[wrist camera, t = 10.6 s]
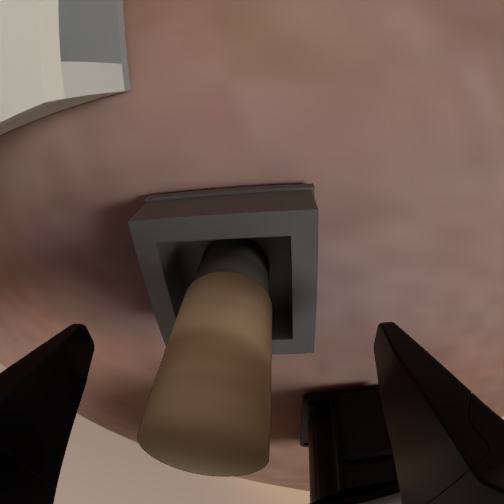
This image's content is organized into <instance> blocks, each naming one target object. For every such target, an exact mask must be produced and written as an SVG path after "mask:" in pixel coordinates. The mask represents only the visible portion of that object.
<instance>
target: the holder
mask: <svg viewBox="0 0 504 504" xmlns="http://www.w3.org/2000/svg"><path fill="white" fill-rule="evenodd" d="M128 225H129V229H130V233H131V236H132V240H133V244H134V248H135V251H136V255H137V258H138V262H139V265H140V269H141V272H142V276H143V279H144V282H145V285H146V289H147V292H148V295H149V298H150V301H151V304H152V307H153V311H154V314H155V317H156V319H157V322H158V325H159V328H160V331H161V334H162V337H163V340H164V342H165V345H166V346H167V344H168V341H169V338H170V335H171V332H172V329H173V327H174V324H175V321H176V318H177V315H178V313H179V310H180V307H181V304H182V302H183V299H184V296H185V294H186V291H187V289H188V288H189V286H190V285H191V284H192V283H193V281H194V278H195V275H196V273H197V270H198V267H199V264H200V262H201V259H202V256H203V254H204V252H205V250H206V248H207V247H208V246H209V245H210V244H211V243H213V242H214V241H216V240H217V239H234V238H248V239H250V240H252V241H254V242H255V243H257V244H258V245H259V246H261V247H262V249H263V250H264V251H265V253H266V254H267V256H268V259H269V263H270V282H269V297H270V300H271V303H272V354H298V353H314V338H315V320H316V297H317V264H318V208H317V205H316V202H315V199H314V185H313V184H288V185H267V186H250V187H235V188H221V189H209V190H197V191H186V192H175V193H165V194H156V195H148V196H147V197H146V198H145V204H144V205H143V206H142V207H141V208H140V209H139V210H138V211H137V212H136V213H135V214H134V215H133V216H132V217H131V219H130V220H129V221H128Z"/></svg>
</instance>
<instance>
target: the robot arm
mask: <svg viewBox="0 0 504 504" xmlns="http://www.w3.org/2000/svg"><path fill="white" fill-rule="evenodd" d="M93 352H94V342H93V340H92V338H91V336H90V334H89V332H88V330H87V328H86V326H85V325H83V324H72V325H71V326H69V327H68V328H66V329H65V330H63V331H62V332H60V333H59V334H57V335H56V336H54V337H53V338H51V339H50V340H48V341H47V342H45V343H44V344H42V345H41V346H39V347H38V348H36V349H35V350H33V351H32V352H30V353H29V354H27V355H26V356H25V357H23V358H22V359H20V360H19V361H17V362H16V363H14V364H13V365H12V366H10V367H9V368H7V369H6V370H4V371H3V372H1V373H0V504H53V502H54V497H55V492H56V487H57V483H58V479H59V475H60V470H61V466H62V462H63V459H64V455H65V451H66V447H67V444H68V440H69V436H70V433H71V430H72V426H73V423H74V420H75V417H76V413H77V410H78V407H79V404H80V401H81V398H82V395H83V392H84V388H85V385H86V381H87V376H88V372H89V368H90V364H91V360H92V356H93ZM374 354H375V361H376V368H377V376H378V384H379V387H375V388H366V389H357V390H347V391H335V392H322V393H310V394H306V395H305V396H304V397H303V403H302V419H301V432H300V445H301V446H303V447H309V472H310V504H504V420H503V419H502V418H501V417H500V416H498V415H497V414H496V413H495V412H493V411H492V410H491V409H490V408H489V407H488V406H487V405H485V404H484V403H483V402H482V401H481V400H480V399H479V398H478V397H477V396H476V395H474V394H473V393H472V394H471V391H470V390H469V389H468V388H467V387H466V386H465V385H463V384H462V383H461V382H460V381H459V380H458V379H457V378H456V377H455V376H454V375H453V374H451V373H450V372H449V371H448V370H447V369H446V368H445V367H444V366H443V365H441V364H440V363H439V362H438V361H437V360H436V359H435V358H434V357H433V356H431V355H430V354H429V353H428V352H427V351H426V350H425V349H424V348H422V347H421V346H420V345H419V344H418V343H417V342H416V341H414V340H413V339H412V338H411V337H410V336H409V335H408V334H406V333H405V332H404V331H403V330H402V329H401V328H400V327H398V326H397V325H396V324H395V323H393V322H385V323H380V324H379V325H378V329H377V333H376V338H375V342H374Z"/></svg>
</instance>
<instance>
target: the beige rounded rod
mask: <svg viewBox="0 0 504 504" xmlns="http://www.w3.org/2000/svg"><path fill="white" fill-rule="evenodd" d="M269 282H270V263H269V259H268V256H267V254H266V253H265V251H264V250H263V249H262V247H261V246H259V245H258V244H257V243H255V242H254V241H252V240H250V239H248V238H234V239H217V240H216V241H214V242H213V243H211V244H210V245H209V246H208V247H207V248H206V250H205V252H204V254H203V256H202V259H201V262H200V264H199V267H198V270H197V273H196V275H195V278H194V281H193V283H192V284H191V285H190V286H189V288H188V289H187V291H186V294H185V296H184V299H183V302H182V304H181V307H180V310H179V313H178V315H177V318H176V321H175V324H174V327H173V329H172V332H171V335H170V338H169V341H168V344H167V346H166V349H165V352H164V355H163V358H162V361H161V364H160V367H159V370H158V373H157V376H156V379H155V382H154V385H153V388H152V391H151V394H150V397H149V400H148V403H147V406H146V409H145V412H144V416H143V419H142V422H141V425H140V428H139V432H138V435H137V440H138V443H139V445H140V446H141V447H142V449H144V451H146V452H147V453H148V454H149V455H151V456H152V457H153V458H155V459H157V460H159V461H160V462H162V463H165V464H167V465H169V466H172V467H174V468H177V469H180V470H183V471H187V472H191V473H196V474H201V475H208V476H223V477H224V476H225V477H227V476H228V477H229V476H241V475H247V474H251V473H254V472H257V471H259V470H261V469H263V468H264V467H265V466H266V465H267V464H268V462H269V446H270V411H271V363H272V303H271V300H270V297H269Z"/></svg>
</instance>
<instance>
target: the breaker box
mask: <svg viewBox="0 0 504 504" xmlns="http://www.w3.org/2000/svg"><path fill="white" fill-rule="evenodd" d="M127 91H131V87H130V79H129V70H128V60H127V50H126V39H125V25H124V9H123V0H0V135H3V134H5V133H7V132H9V131H11V130H14V129H16V128H18V127H21V126H23V125H26V124H28V123H30V122H33V121H36V120H38V119H41V118H43V117H46V116H49V115H51V114H54V113H57V112H60V111H63V110H66V109H69V108H72V107H75V106H78V105H81V104H84V103H87V102H91V101H94V100H97V99H101V98H104V97H108V96H112V95H115V94H119V93H123V92H127Z"/></svg>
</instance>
